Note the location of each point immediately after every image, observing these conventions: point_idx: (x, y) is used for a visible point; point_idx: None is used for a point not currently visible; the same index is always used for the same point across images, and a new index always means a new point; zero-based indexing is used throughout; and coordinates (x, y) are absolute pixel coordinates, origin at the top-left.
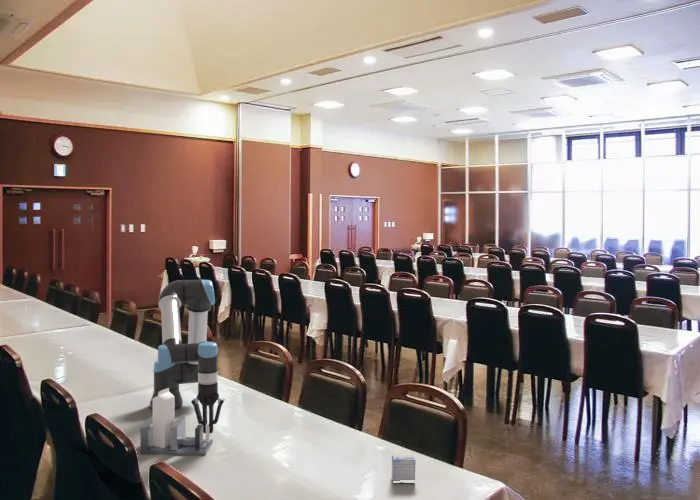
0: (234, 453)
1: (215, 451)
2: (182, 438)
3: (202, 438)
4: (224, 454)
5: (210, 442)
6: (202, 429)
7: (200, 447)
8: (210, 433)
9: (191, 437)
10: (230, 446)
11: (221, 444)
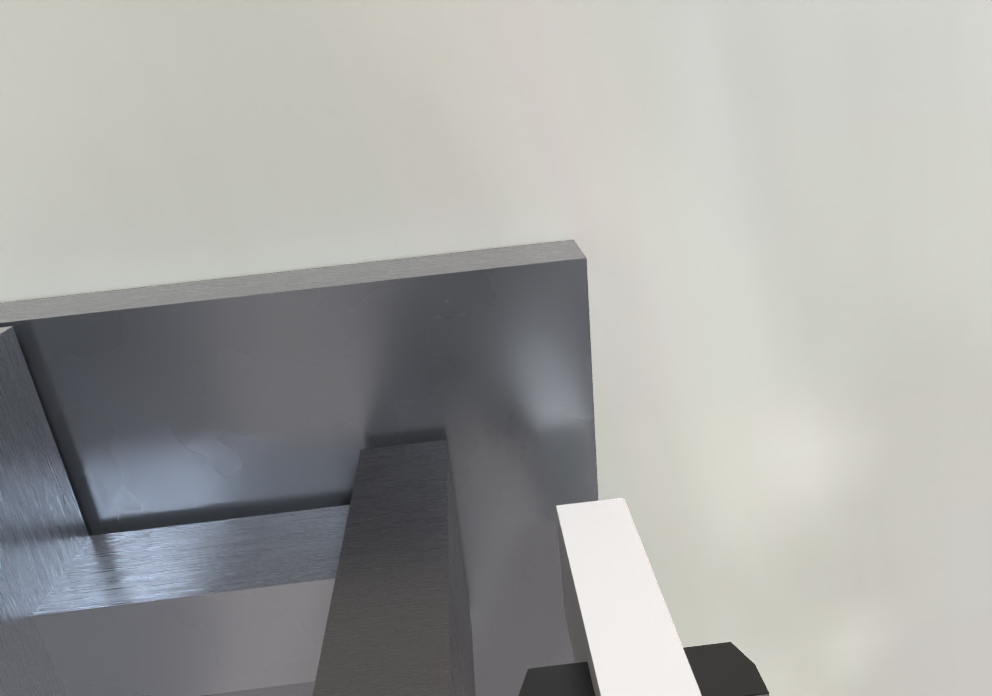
0: (981, 556)
1: (703, 540)
2: (87, 675)
3: (449, 497)
4: (846, 603)
5: (588, 411)
6: (452, 637)
7: (484, 612)
8: (659, 606)
9: (243, 606)
10: (909, 339)
11: (746, 280)
